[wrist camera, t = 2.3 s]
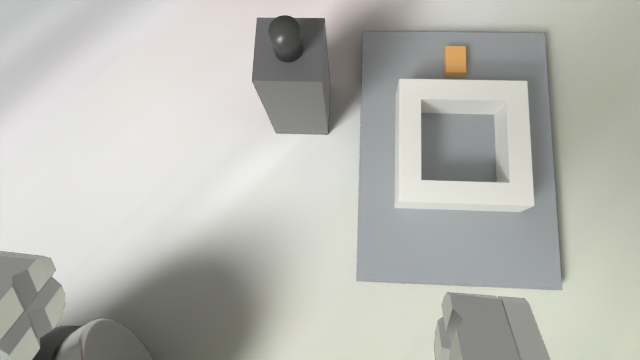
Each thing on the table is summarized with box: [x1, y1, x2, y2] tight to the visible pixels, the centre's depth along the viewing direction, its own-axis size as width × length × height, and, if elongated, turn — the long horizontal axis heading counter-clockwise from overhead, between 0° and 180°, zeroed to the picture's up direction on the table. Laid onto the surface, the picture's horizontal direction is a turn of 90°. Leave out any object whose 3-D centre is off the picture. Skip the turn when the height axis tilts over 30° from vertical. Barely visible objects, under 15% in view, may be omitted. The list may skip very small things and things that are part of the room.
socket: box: [356, 31, 562, 290], centre depth 31 cm, size 18×13×4 cm
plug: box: [252, 16, 330, 135], centre depth 29 cm, size 4×4×11 cm
